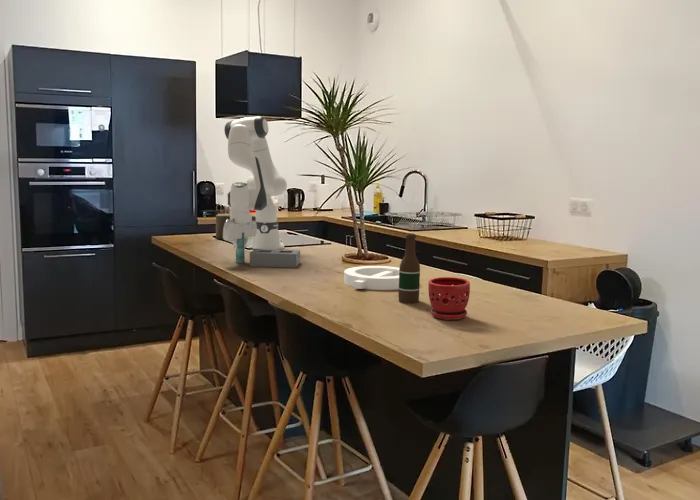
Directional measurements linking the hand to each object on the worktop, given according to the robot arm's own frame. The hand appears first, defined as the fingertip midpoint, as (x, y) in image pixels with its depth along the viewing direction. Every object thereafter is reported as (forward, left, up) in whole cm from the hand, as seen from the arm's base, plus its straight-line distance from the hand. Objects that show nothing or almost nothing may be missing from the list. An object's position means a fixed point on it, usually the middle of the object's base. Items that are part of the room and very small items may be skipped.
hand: (240, 248), depth 309 cm
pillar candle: (-79, -27, -7) cm, 84 cm away
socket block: (+3, +17, -7) cm, 18 cm away
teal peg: (0, 0, -7) cm, 7 cm away
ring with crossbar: (+38, +65, -7) cm, 76 cm away
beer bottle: (+70, +76, -7) cm, 104 cm away
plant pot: (+91, +88, -7) cm, 127 cm away
